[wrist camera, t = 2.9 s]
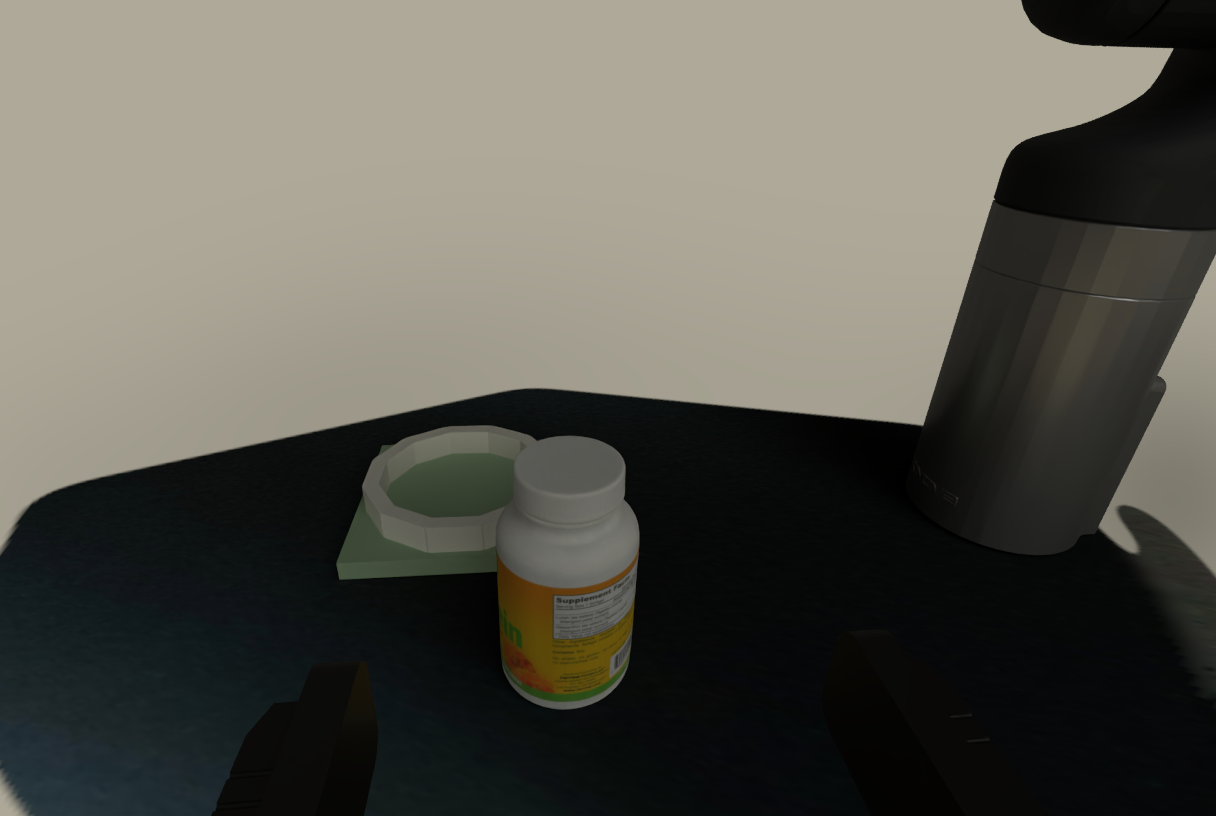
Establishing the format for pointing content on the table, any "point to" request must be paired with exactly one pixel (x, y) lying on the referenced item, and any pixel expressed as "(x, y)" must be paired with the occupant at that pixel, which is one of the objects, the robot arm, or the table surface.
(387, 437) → the table surface
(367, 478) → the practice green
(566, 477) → the supplement bottle
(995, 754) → the robot arm
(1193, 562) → the table surface
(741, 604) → the table surface
